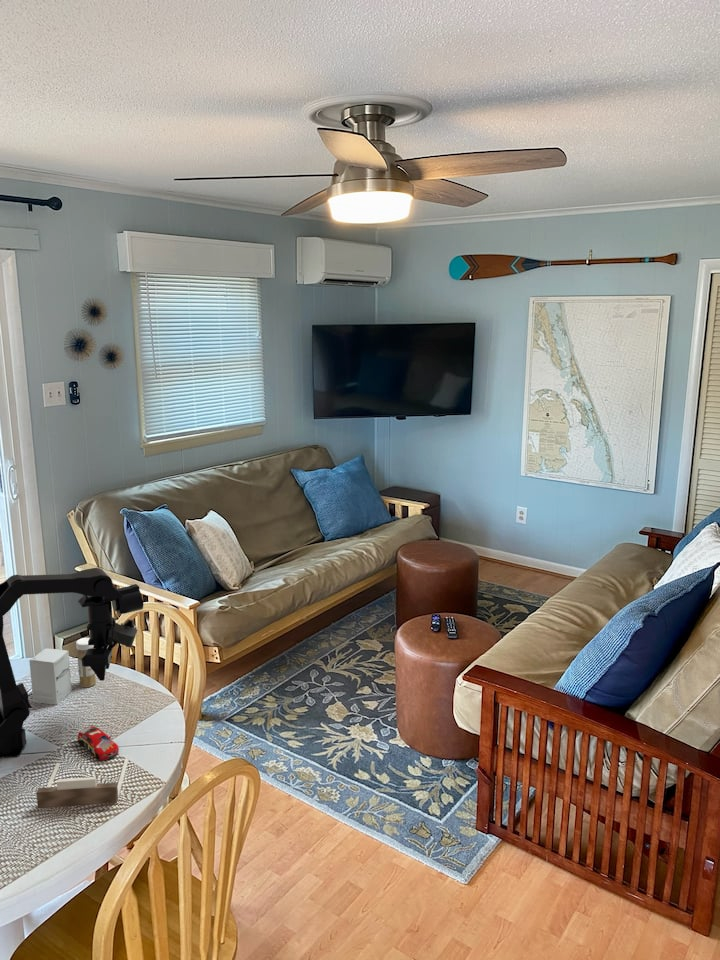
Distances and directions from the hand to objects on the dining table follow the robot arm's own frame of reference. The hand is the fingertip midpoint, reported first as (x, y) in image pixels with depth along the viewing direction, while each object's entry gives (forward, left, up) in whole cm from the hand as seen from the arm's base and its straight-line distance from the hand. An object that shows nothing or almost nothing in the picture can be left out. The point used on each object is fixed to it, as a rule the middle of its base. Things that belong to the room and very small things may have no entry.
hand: (104, 674), depth 186 cm
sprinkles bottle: (-9, +19, -13) cm, 25 cm away
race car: (0, -12, -14) cm, 18 cm away
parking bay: (0, -26, -13) cm, 29 cm away
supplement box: (-17, +13, -13) cm, 25 cm away
